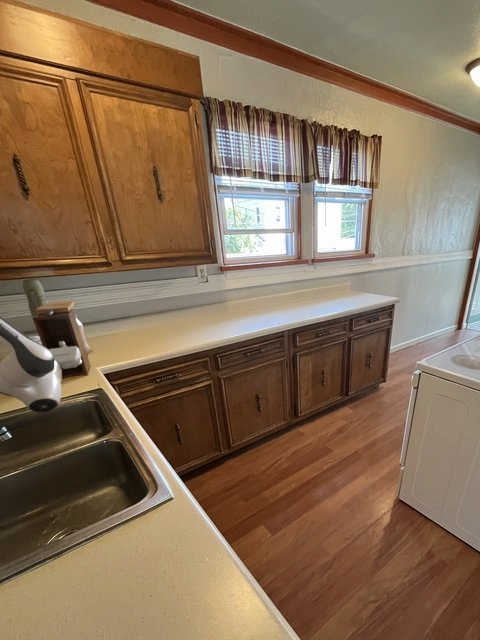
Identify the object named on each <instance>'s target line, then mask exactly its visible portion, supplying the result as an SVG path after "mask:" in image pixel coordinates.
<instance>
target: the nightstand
mask: <svg viewBox="0 0 480 640" xmlns="http://www.w3.org/2000/svg"><path fill="white" fill-rule="evenodd" d="M75 314H76V313H75V311H74V309H73V308H71V310H70V311H69V312H58V313H54V314H53V315H52V316H51V317H49V318H48V317H46V316H45V314H36V315H35V316H34V317H32V321H33V323H34V326H35V329H36V331H37V334H38V336H39V337H40V340H41V343H42V345H43V346H44V347H46V348H47V349H55V348H60V346H59V342H61V341H64V343H65V345H66V346H67V347H72V346H76V347H78V348H79V350H80V353H81V365H79V366H77V367H75V368H68V369H62V379H68V378H69V377H70V378H75V377H76V376H77V377H83V376H89V373H90V369H91V367H92V366H91V361H90V359H89V356H88V354H87V352H86V349H85V346H84V343H83V340H82V336H81V333H80V330H79V327H78V324H77V320H78V319H77V320H76V317H75ZM70 378H69V379H70Z"/></svg>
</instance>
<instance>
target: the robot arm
mask: <svg viewBox="0 0 480 640" xmlns="http://www.w3.org/2000/svg"><path fill="white" fill-rule="evenodd" d="M29 337H30V336H28V335H26V333H24V332H22V331H21V330H20V329H18V328H17V327H16V326H14V325H13V324H12V323H10V322H9V321H7V320H6V319H5V318H3V317H2V316H0V342H1V343H2V344H3V345H5V346H7V347H8V348H9V350H10V353H9V354H8V355H7V356H6V357H5V358H3V359H2V360H1V361H0V394H1V395H4V396H7V397H10V398H15V399H17V400H19V401H20V402H22V403H23V404H24V405H25V407H26V408H27V409H28V410H30V411H32V412H35V413H46V412H50V411H52V410H55V408H57V407H58V406H59V405H60V403H61V399H62V392H63V391H62V390H63V388H62V384H61V382H62V369H68V368H75V367H77V366H79V365H81V353H80V350H79V348H78V347H76V346H72V347H67V346H66V345H65V343H64V341H61V342H59V346H60V348H55V349H47V348H46V347H44V346H43V345H41V344H39V343H37V342H35V341H34V340H32V339H30V338H29Z"/></svg>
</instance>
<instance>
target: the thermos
mask: <svg viewBox="0 0 480 640" xmlns="http://www.w3.org/2000/svg"><path fill="white" fill-rule="evenodd" d="M22 289H23V292H24V294H25V297H26V299H27V303H28V305H27V307H28V309H29V312H30V315H31V318H33V317H34V316H35V315H36V311H35V310H36V309H37V308H39V307H40V306H41V305H42V304H44V303H49V301H48V299H47V298H46V293H45V290H44V287H43V285H42V283H41V282H40V281H39V279H37V278H33V279H32V278H31V279H29V278H28V279H24V280H23V281H22Z"/></svg>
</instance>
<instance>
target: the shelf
mask: <svg viewBox="0 0 480 640" xmlns="http://www.w3.org/2000/svg"><path fill="white" fill-rule="evenodd" d="M74 306H75V302H74V300H73V301H72V300H71V301H57V302H55V301H54V302H48V303H44V304H42V305H41V306H40V307H39V308H37V309H36V310H35V311H36V314H45V316H46V317H48V318H49V317H51V316H52V315H53V314H54V313H58V312H69V311H70V310H71V309H73V307H74Z"/></svg>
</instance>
